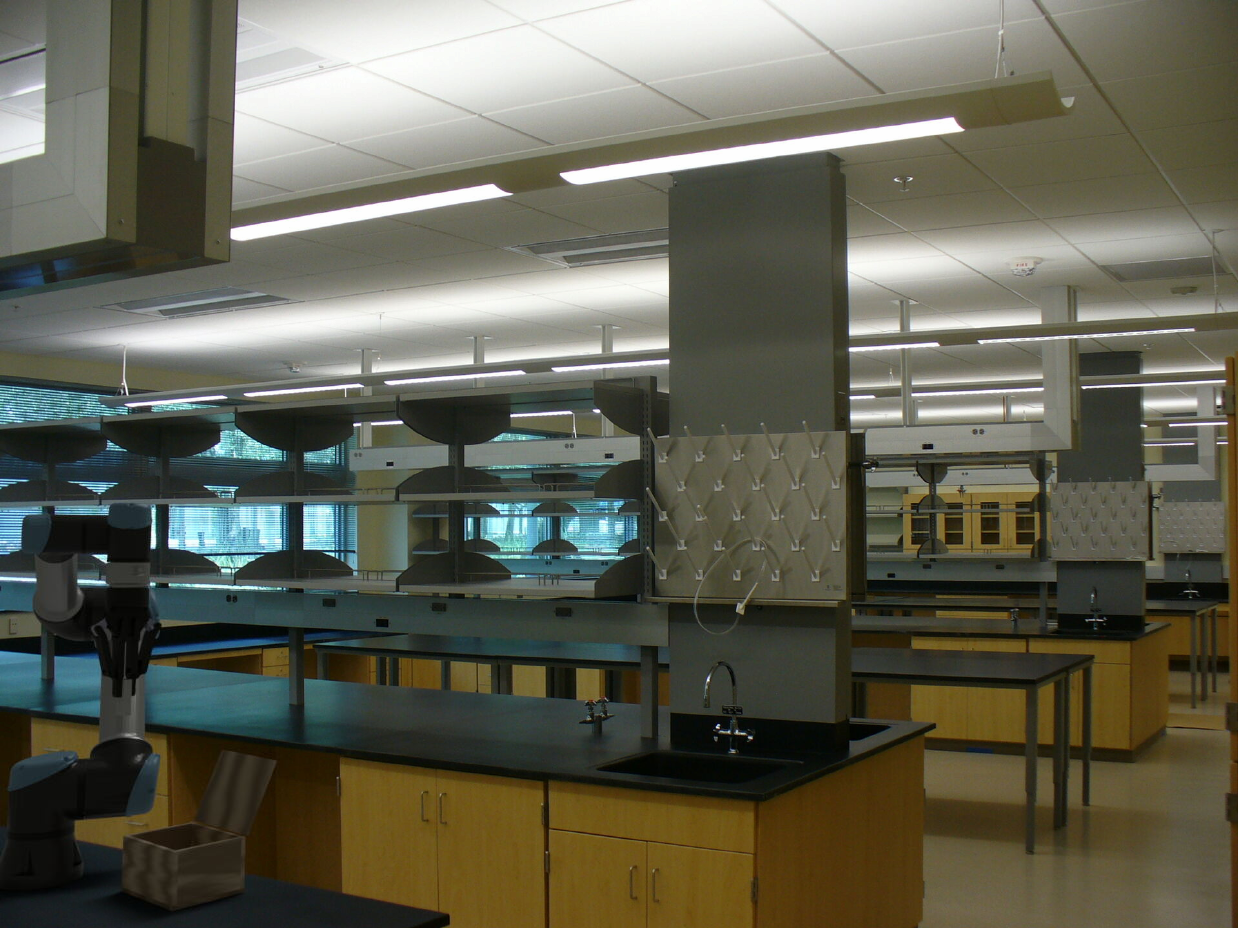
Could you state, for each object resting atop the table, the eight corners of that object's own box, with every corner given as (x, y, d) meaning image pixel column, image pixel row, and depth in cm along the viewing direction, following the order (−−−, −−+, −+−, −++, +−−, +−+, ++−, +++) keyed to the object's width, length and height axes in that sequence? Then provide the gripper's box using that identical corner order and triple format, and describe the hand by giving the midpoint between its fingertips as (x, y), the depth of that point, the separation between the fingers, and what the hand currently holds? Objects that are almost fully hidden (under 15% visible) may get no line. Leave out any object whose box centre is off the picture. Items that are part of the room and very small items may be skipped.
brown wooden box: (121, 891, 207) (123, 835, 208) (191, 874, 218) (193, 821, 219) (172, 910, 196) (174, 851, 196) (244, 892, 206) (245, 836, 207)
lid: (222, 749, 224) (225, 750, 225) (193, 820, 219) (196, 821, 219) (274, 759, 213) (277, 760, 213) (245, 834, 207) (248, 835, 208)
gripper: (102, 587, 201) (97, 720, 200) (171, 585, 212) (167, 712, 210) (82, 586, 206) (77, 716, 204) (150, 584, 216) (146, 709, 214)
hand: (123, 714), depth 207 cm, fingers closed
